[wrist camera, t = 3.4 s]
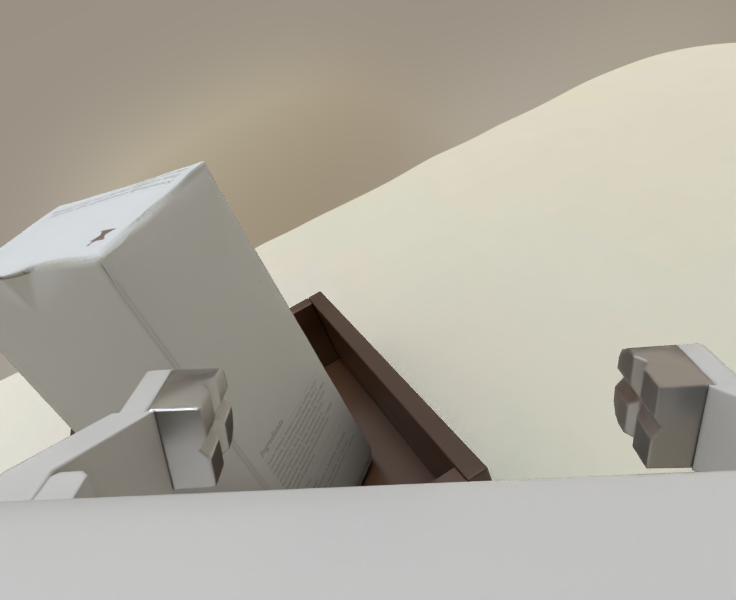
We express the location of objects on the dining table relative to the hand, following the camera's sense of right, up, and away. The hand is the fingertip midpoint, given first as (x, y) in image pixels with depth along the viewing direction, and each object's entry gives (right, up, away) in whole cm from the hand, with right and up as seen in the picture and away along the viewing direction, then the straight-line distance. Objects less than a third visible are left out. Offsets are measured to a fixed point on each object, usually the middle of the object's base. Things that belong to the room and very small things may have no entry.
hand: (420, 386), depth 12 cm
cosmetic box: (-5, -7, +14) cm, 17 cm away
